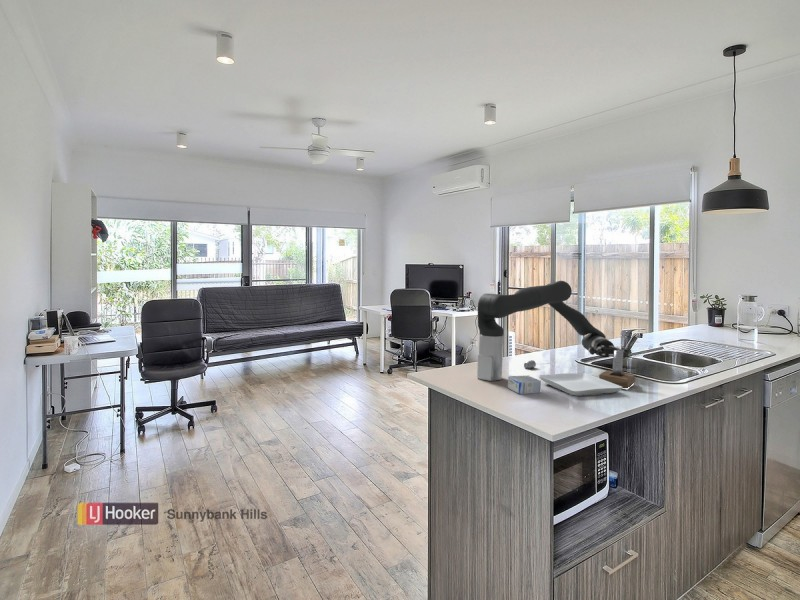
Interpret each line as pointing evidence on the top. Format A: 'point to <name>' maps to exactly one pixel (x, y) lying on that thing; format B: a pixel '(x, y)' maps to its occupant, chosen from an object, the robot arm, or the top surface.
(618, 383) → the hole block
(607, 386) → the salad plate
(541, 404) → the top surface
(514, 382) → the medicine box
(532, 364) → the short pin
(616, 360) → the tall pin
